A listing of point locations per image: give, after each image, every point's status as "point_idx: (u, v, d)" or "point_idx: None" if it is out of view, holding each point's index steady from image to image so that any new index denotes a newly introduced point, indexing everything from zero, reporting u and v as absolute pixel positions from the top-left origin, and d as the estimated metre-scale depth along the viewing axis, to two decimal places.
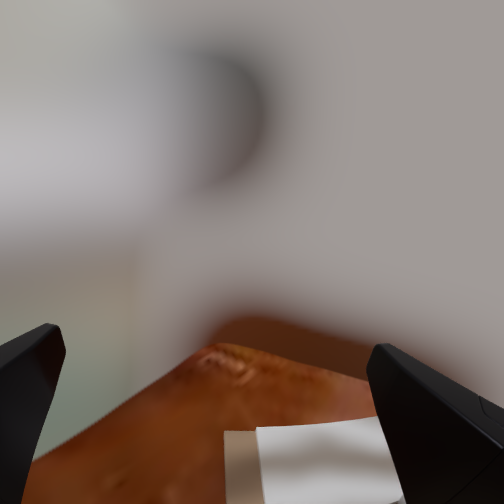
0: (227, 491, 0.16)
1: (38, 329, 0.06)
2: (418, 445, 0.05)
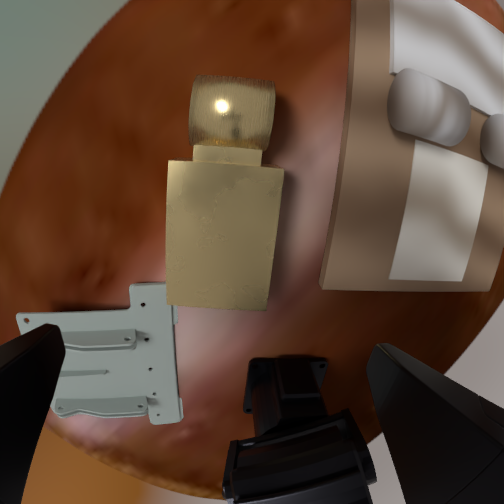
0: (357, 21, 0.14)
1: (37, 329, 0.06)
2: (418, 445, 0.05)
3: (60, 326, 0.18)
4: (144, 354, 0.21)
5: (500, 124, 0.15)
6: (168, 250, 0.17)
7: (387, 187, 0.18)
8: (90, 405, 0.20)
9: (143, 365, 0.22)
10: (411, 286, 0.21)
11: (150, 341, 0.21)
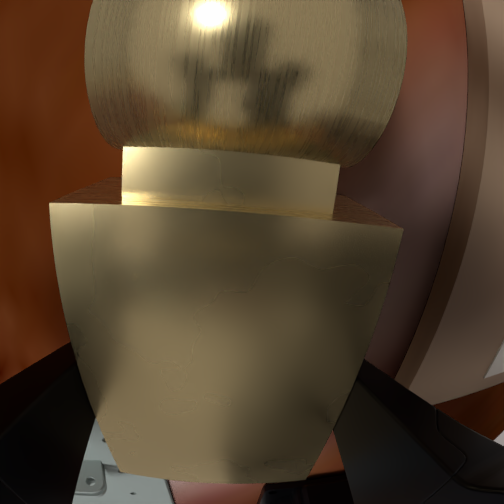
0: None
1: None
2: (367, 458, 0.05)
3: None
4: (121, 482, 0.11)
5: None
6: (98, 410, 0.06)
7: None
8: None
9: (122, 490, 0.11)
10: (503, 377, 0.10)
11: None
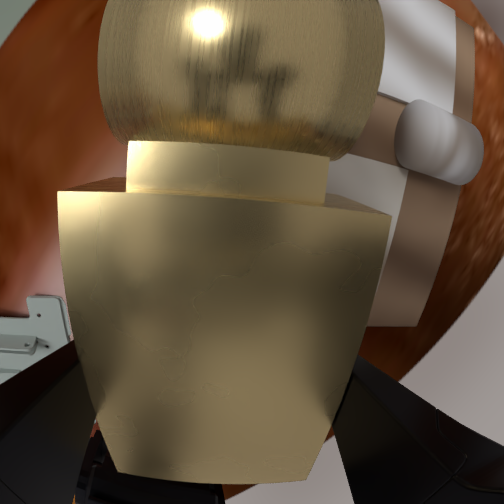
0: None
1: None
2: (367, 458, 0.05)
3: None
4: None
5: (418, 113, 0.13)
6: (96, 403, 0.06)
7: None
8: None
9: None
10: None
11: (50, 348, 0.19)
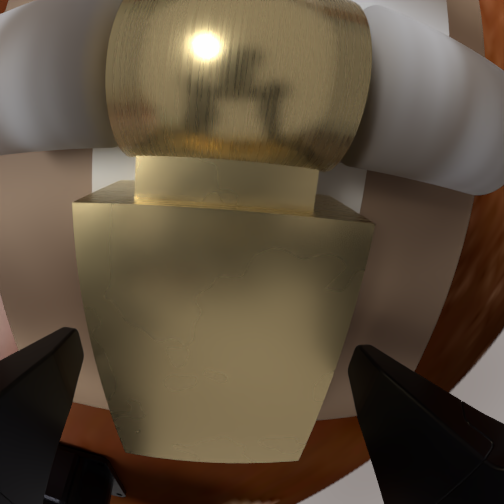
0: None
1: (56, 333, 0.06)
2: (397, 451, 0.05)
3: None
4: None
5: None
6: (107, 388, 0.07)
7: (54, 257, 0.09)
8: None
9: None
10: None
11: None
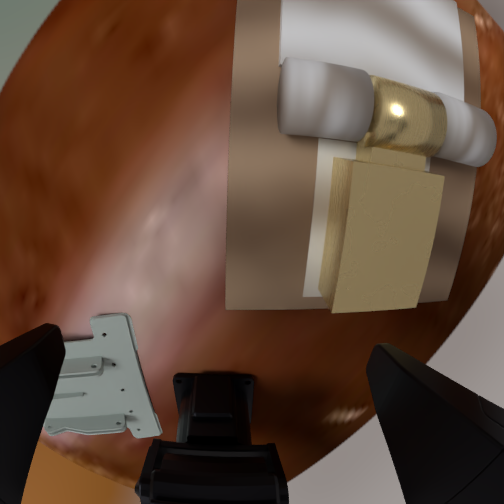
0: (237, 15, 0.13)
1: (37, 329, 0.06)
2: (418, 445, 0.05)
3: None
4: (114, 377, 0.22)
5: None
6: (344, 256, 0.16)
7: (285, 197, 0.17)
8: (75, 423, 0.21)
9: (115, 387, 0.22)
10: None
11: (117, 366, 0.21)
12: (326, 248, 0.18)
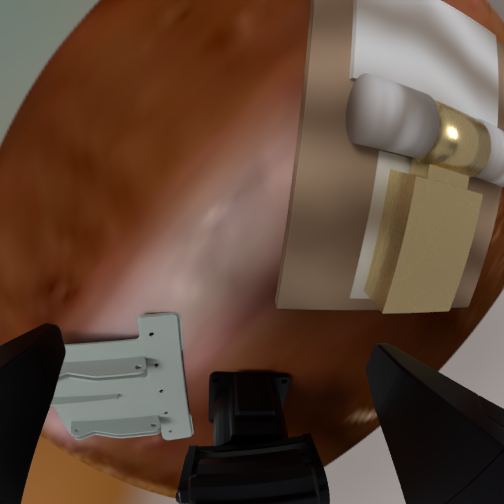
0: (313, 24, 0.14)
1: (37, 329, 0.06)
2: (417, 445, 0.05)
3: (72, 357, 0.19)
4: (155, 378, 0.22)
5: None
6: (400, 261, 0.16)
7: (345, 203, 0.18)
8: (105, 426, 0.21)
9: (154, 388, 0.22)
10: None
11: (159, 366, 0.22)
12: (377, 253, 0.19)
